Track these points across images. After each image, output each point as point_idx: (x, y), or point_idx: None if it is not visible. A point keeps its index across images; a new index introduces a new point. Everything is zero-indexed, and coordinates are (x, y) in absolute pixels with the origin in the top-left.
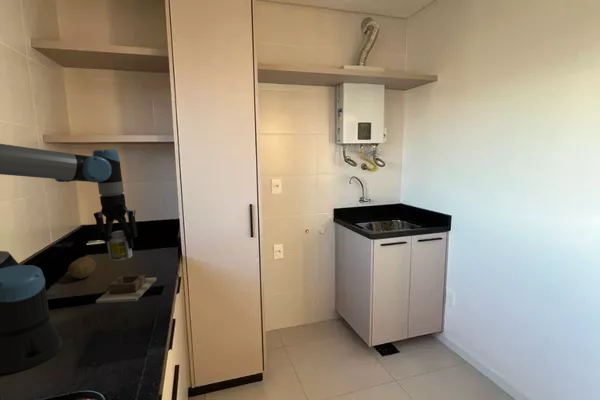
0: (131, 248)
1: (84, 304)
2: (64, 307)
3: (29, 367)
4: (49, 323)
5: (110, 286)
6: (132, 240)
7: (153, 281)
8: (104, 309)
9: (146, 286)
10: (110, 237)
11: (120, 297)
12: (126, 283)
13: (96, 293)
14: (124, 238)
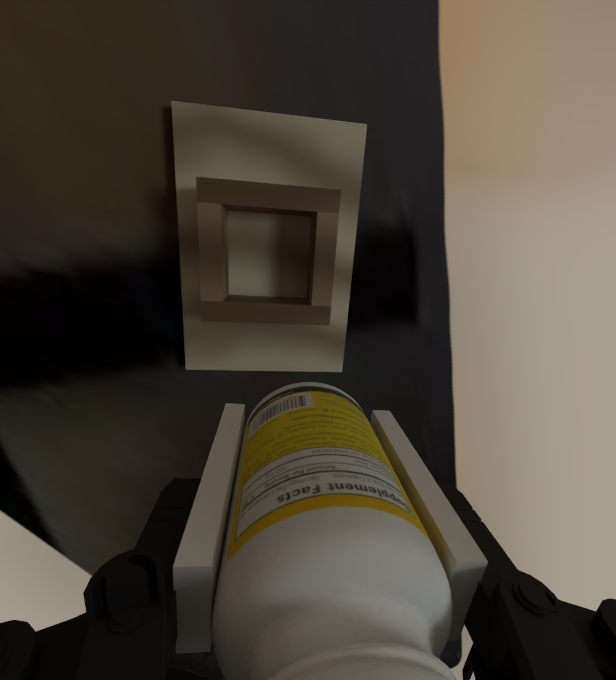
0: (417, 455)
1: (143, 365)
2: (74, 379)
3: None
4: (220, 676)
5: (211, 319)
6: (507, 566)
7: (360, 173)
8: (249, 414)
9: (348, 252)
10: (164, 635)
11: (275, 353)
12: (285, 313)
13: (123, 257)
14: (439, 652)
